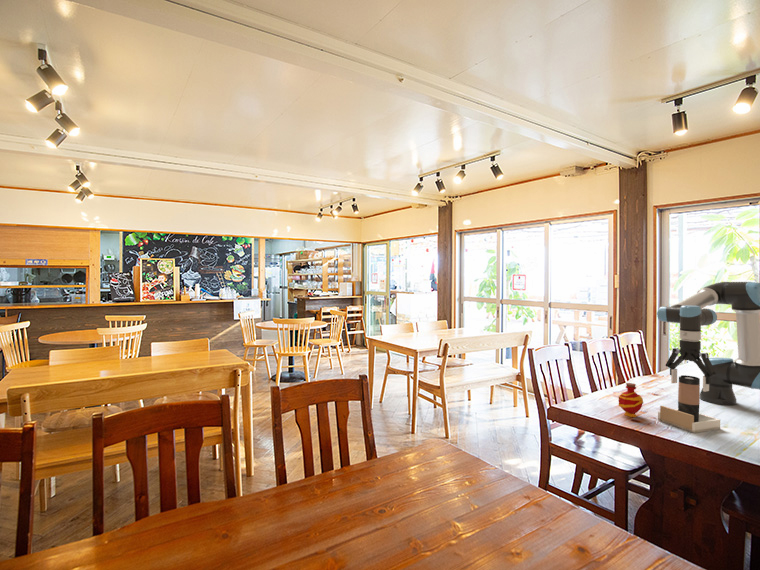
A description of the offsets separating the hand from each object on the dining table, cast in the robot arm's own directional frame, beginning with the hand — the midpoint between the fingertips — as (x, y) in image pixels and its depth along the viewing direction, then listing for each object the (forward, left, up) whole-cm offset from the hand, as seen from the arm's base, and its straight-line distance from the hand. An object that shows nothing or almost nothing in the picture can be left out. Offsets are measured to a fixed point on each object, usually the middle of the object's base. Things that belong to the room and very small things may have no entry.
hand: (689, 387), depth 180 cm
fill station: (0, 0, -17) cm, 17 cm away
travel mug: (0, 0, -16) cm, 16 cm away
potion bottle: (+14, -17, -17) cm, 28 cm away
